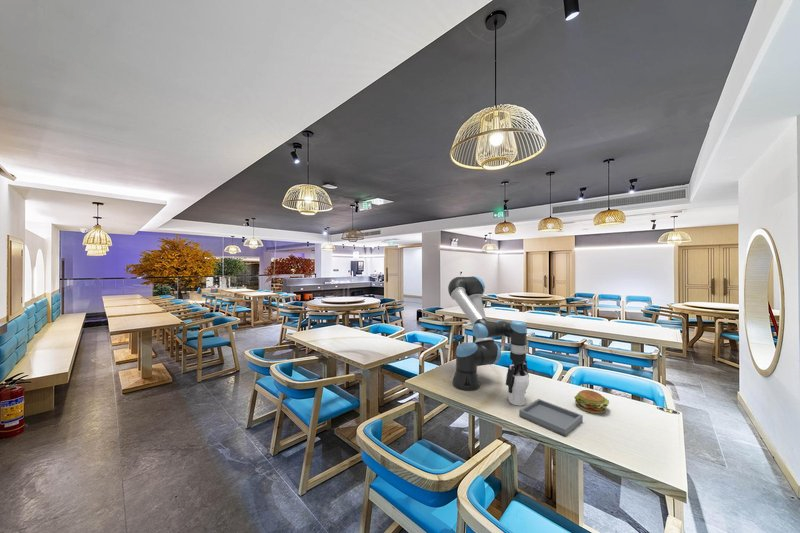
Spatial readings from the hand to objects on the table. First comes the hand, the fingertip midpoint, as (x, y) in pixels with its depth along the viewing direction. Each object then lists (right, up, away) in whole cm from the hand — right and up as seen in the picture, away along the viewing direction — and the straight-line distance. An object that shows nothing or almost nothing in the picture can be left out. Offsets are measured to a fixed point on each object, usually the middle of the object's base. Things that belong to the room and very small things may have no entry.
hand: (517, 395), depth 152 cm
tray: (+9, -4, -16) cm, 19 cm away
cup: (0, -4, 0) cm, 4 cm away
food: (+34, -4, -6) cm, 35 cm away
